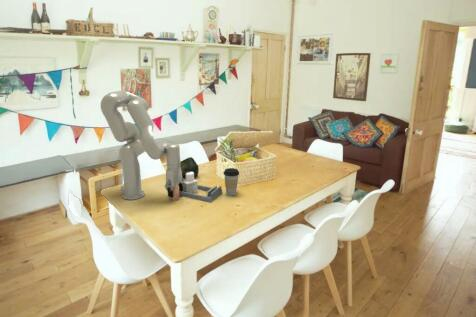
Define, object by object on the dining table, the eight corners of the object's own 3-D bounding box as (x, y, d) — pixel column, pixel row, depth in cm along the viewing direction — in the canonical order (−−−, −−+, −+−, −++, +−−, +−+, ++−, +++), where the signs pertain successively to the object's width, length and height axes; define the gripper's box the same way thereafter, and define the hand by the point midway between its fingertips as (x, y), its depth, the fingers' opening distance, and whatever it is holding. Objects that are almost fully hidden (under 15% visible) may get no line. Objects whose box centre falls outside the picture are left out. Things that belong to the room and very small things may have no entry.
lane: (173, 194, 191) (172, 186, 189) (186, 186, 203) (185, 178, 202) (211, 202, 181) (211, 194, 180) (222, 193, 193) (222, 185, 192)
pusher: (206, 200, 184) (206, 192, 182) (215, 193, 194) (215, 185, 192) (208, 200, 184) (208, 192, 182) (216, 193, 193) (217, 185, 192)
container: (180, 191, 195) (179, 171, 191) (190, 188, 200) (190, 168, 196) (187, 195, 189) (186, 175, 186) (197, 192, 194) (197, 172, 190)
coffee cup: (229, 198, 187) (229, 174, 183) (220, 192, 194) (220, 169, 190) (242, 194, 192) (242, 171, 188) (232, 189, 200) (233, 166, 195)
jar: (167, 199, 184) (167, 185, 181) (173, 196, 188) (172, 182, 186) (176, 201, 181) (175, 187, 179) (181, 197, 186) (181, 183, 184)
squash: (169, 169, 216) (179, 156, 208) (185, 164, 228) (195, 152, 220) (180, 186, 213) (191, 173, 204) (196, 180, 225) (207, 168, 216)
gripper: (176, 160, 188) (178, 187, 193) (158, 169, 173) (160, 198, 178) (187, 162, 185) (189, 189, 190) (170, 171, 170) (172, 200, 175)
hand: (175, 193), depth 184 cm, fingers open, 9 cm apart
